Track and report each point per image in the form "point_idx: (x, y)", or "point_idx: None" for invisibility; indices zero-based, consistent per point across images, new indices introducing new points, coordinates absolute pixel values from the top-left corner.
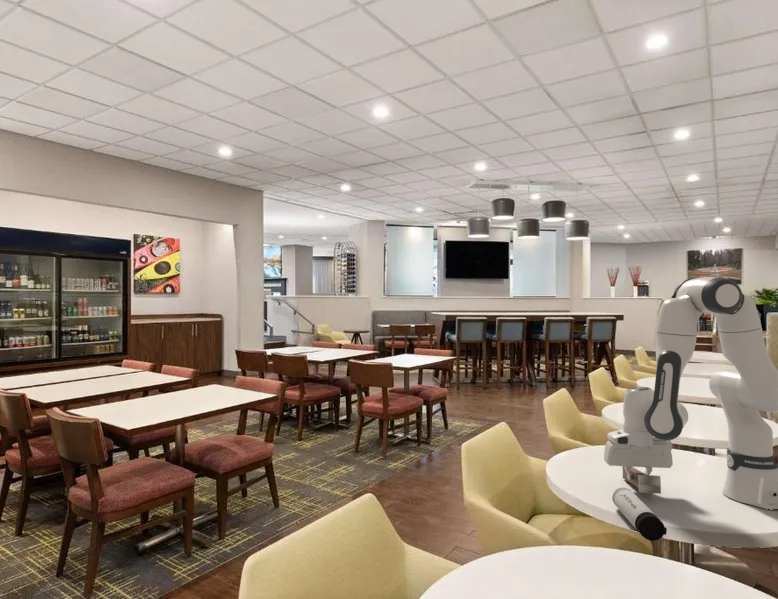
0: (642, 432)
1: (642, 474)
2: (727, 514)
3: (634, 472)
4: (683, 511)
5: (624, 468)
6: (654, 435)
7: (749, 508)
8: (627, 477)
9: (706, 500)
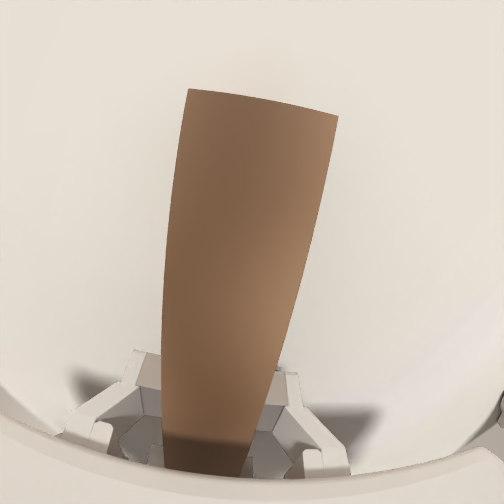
0: None
1: (210, 468)
2: (391, 461)
3: (171, 429)
4: (279, 466)
5: (81, 411)
6: None
7: (478, 423)
8: (133, 353)
9: (442, 405)
